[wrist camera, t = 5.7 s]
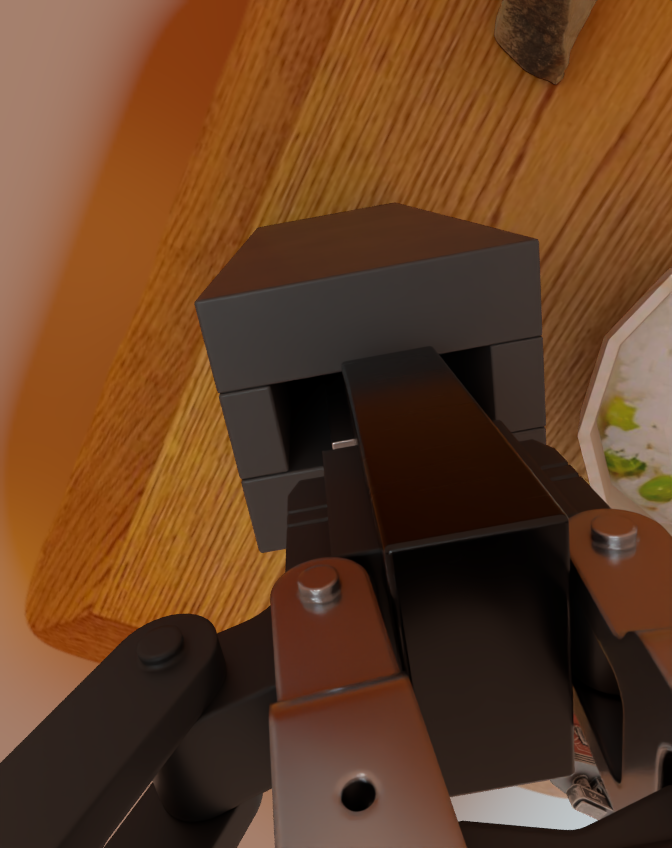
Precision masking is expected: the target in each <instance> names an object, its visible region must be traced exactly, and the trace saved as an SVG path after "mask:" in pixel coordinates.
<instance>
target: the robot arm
mask: <svg viewBox="0 0 672 848" xmlns="http://www.w3.org/2000/svg"><path fill="white" fill-rule="evenodd" d="M492 422H493V423H494V424H495V425H496V427H497V428H498V429H499V430H500V432H501V433H502V434H503V435H504V437H505V438H506V439H507V440H508V442H509V443H510V444H511V445H512V447H513V448H514V449H515V450H516V452H517V453H518V454H519V455H520V457H521V458H522V459H523V460H524V462H525V463H526V464H527V465H528V467H529V468H530V469H531V470H532V472H533V473H534V474H535V476H536V477H537V478H538V479H539V481H540V482H541V483H542V484H543V486H544V487H545V488H546V489H547V491H548V492H549V493H550V494H551V496H552V497H553V498H554V499H555V501H556V502H557V503H558V504H559V506H560V507H561V508H562V509H563V511H564V512H565V513H566V514H567V516H568V518H569V543H570V586H571V629H572V672H573V710H574V712H575V715H576V717H577V720H578V722H579V725H580V727H581V730H582V732H583V735H584V737H585V740H586V742H587V744H588V747H589V749H590V752H591V754H592V757H593V759H594V762H595V764H596V767H597V769H598V772H599V774H600V776H601V779H602V781H603V784H604V786H605V789H606V791H607V794H608V796H609V799H610V801H611V804H612V807H613V810H614V813H612V814H610V815H608V816H606V817H604V818H602V819H600V820H598V821H596V822H594V823H592V824H590V825H588V826H586V827H583V828H581V829H576V830H557V829H548V828H537V827H526V826H515V825H504V824H492V823H481V822H470V821H460V822H458V820H457V817H456V814H455V812H454V809H453V806H452V803H451V800H450V797H449V794H448V791H447V788H446V785H445V782H444V779H443V776H442V773H441V770H440V767H439V764H438V761H437V759H436V756H435V753H434V750H433V747H432V744H431V741H430V738H429V735H428V732H427V729H426V726H425V723H424V720H423V717H422V714H421V711H420V708H419V706H418V703H417V700H416V697H415V694H414V691H413V688H412V685H411V682H410V680H409V677H408V675H407V673H406V671H400V668H399V662H398V656H397V650H396V645H395V639H394V633H393V627H392V621H391V615H390V609H389V603H388V597H387V592H386V586H385V580H384V574H383V568H382V562H381V556H380V550H379V546H378V541H377V536H376V532H375V527H374V523H373V518H372V514H371V509H370V504H369V500H368V495H367V491H366V486H365V482H364V477H363V472H362V468H361V463H360V459H359V454H358V450H357V445H354V446H348V447H343V448H337V449H332V450H326V451H322V456H323V467H324V476H322V477H317V478H311V479H305V480H300V481H299V482H298V483H297V484H296V486H295V487H294V488H293V490H292V491H291V492H290V494H289V495H288V506H287V513H288V515H287V538H286V569H285V573H284V574H283V575H282V576H281V577H280V578H279V579H278V580H277V581H276V583H275V584H274V586H273V588H272V591H271V596H270V603H271V605H270V606H269V607H268V608H267V609H266V610H264V611H263V612H262V613H260V614H259V615H257V616H255V617H254V618H252V619H250V620H248V621H246V622H243V623H241V624H239V625H236V626H234V627H231V628H229V629H227V630H224V631H222V632H219V633H217V632H216V629H215V627H214V626H213V624H212V623H211V622H210V621H209V620H207V619H206V618H204V617H202V616H199V615H194V614H176V615H170V616H166V617H162V618H160V619H157V620H154V621H152V622H150V623H148V624H146V625H144V626H142V627H140V628H139V629H137V630H136V631H134V632H133V633H132V634H130V635H129V636H128V637H127V638H126V639H125V640H123V641H122V642H121V643H120V644H119V645H118V646H117V647H116V648H115V649H114V650H113V651H112V652H111V653H110V654H109V655H108V656H107V657H106V658H105V659H104V660H103V661H102V662H101V663H100V664H99V665H98V666H97V667H96V668H95V669H94V670H93V671H92V672H91V673H90V674H89V675H88V676H87V677H86V678H85V679H84V680H83V681H82V682H81V683H80V684H79V685H78V686H77V687H76V688H75V689H74V690H73V691H72V692H71V693H70V694H69V695H68V696H67V697H66V698H65V699H64V700H63V701H62V702H61V703H60V704H59V705H58V706H57V707H56V708H55V709H54V710H53V711H52V712H51V713H50V714H49V715H48V716H47V717H46V718H45V719H44V720H43V721H42V722H41V723H40V724H39V725H38V726H37V727H36V728H35V729H34V730H33V731H32V732H31V733H30V734H29V735H28V736H27V737H26V738H25V739H24V740H23V741H22V742H21V743H20V744H19V745H18V746H17V747H16V748H15V749H14V750H13V751H12V752H11V753H10V754H9V755H8V756H7V757H6V758H5V759H4V760H3V761H2V762H1V763H0V848H103V847H104V845H105V843H106V842H107V840H108V839H109V837H110V836H111V835H112V833H113V832H114V831H115V829H116V828H117V827H118V825H119V824H120V823H121V821H122V820H123V819H124V817H125V816H126V815H127V813H128V812H129V811H130V809H131V808H132V807H133V805H134V804H135V803H136V801H137V800H138V799H139V797H140V796H141V795H142V793H143V792H144V791H145V789H146V788H147V786H148V785H149V784H150V782H151V781H153V783H152V784H151V785H150V787H149V788H148V789H147V791H146V792H145V793H144V795H143V796H142V797H141V799H140V800H139V801H138V803H137V804H136V805H135V807H134V808H133V809H132V811H131V812H130V814H129V815H128V816H127V817H126V819H125V820H124V821H123V823H122V824H121V825H120V827H119V828H118V829H117V831H116V832H115V834H114V835H113V836H112V838H111V839H110V840H109V841H108V843H107V844H106V845H105V847H104V848H237V846H238V845H239V843H240V841H241V839H242V838H243V836H244V834H245V832H246V831H247V829H248V827H249V825H250V823H251V822H252V820H253V818H254V816H255V815H256V813H257V811H258V808H259V806H260V803H261V800H262V796H263V793H264V792H266V791H268V790H269V789H272V795H273V817H274V836H275V837H274V838H275V848H672V536H671V535H670V534H669V532H668V531H667V530H666V529H665V528H664V527H663V526H662V525H661V524H659V523H658V522H656V521H655V520H653V519H651V518H649V517H647V516H644V515H642V514H639V513H635V512H631V511H626V510H620V509H611V508H610V507H609V505H608V504H607V503H606V502H605V501H604V500H603V499H602V498H601V497H600V496H599V495H598V494H597V493H596V492H595V491H594V490H593V489H592V488H591V486H590V485H589V484H588V483H587V482H586V481H585V480H584V479H583V478H582V477H581V476H580V477H579V476H578V473H577V472H576V471H575V470H574V469H573V468H572V466H571V465H568V463H567V461H566V460H565V459H564V458H563V457H562V456H561V455H560V454H559V453H558V452H557V451H556V450H555V449H554V448H552V447H550V446H547V445H545V444H543V443H540V442H538V441H536V440H534V439H530V440H525V441H518V440H517V439H516V438H515V436H514V435H513V434H512V433H511V432H510V430H509V429H508V428H507V427H506V426H505V424H504V423H503V422H502V421H501V420H495V421H492Z"/></svg>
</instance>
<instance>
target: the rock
mask: <svg viewBox="0 0 672 848" xmlns="http://www.w3.org/2000/svg"><path fill="white" fill-rule="evenodd" d="M596 1H597V0H503V1H502V4H501V7H500V9H499V12H498V15H497V18H496V24H495V38H496V41H497V42H498V43H499V44H500V45H501V46H502V48H503V49H504V50H505V51H506V52H507V53H508V54H509V55H510V56H511V57H512V58H513V59H514V60H515V61H516V62H517V63H518V64H519V65H520V66H521V67H522V68H523V69H524V70H526V71H527V72H529V73H531V74H533V75H534V76H537V77H539V78H543V79H546V80H548V81H550V82H552V83H553V84H557V83H558V82H560V81H561V80H562V79H563V77H564V71H565V69H566V68H567V66H568V64H569V56H570V51H571V49H572V47H573V44H574V42H575V40H576V38H577V36H578V34H579V32H580V30H581V29H582V27H583V25H584V24H585V22H586V20H587V18H588V17H589V15H590V12H591V9H592V8H593V6H594V4H595V3H596Z"/></svg>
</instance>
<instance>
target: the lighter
mask: <svg viewBox="0 0 672 848" xmlns="http://www.w3.org/2000/svg"><path fill="white" fill-rule="evenodd" d="M573 714H574V757H575V773H574V774H573V775H572V776H570V777H564V778H558V779H553V780H550V781H551V783H552V784H553V785H555V786H556V787H557V788H559V789H560V790H561V791H563V792H564V793H565V794H567V796H568V798H569V801H570V803H571V805H572V807H573V808H574V809H575V810H577V811H579V812H581V813H584V814H586V815H589V816H590V817H593V818H595V819H597V820H600V819H602V818H604V817H606V816H608V815H610V814H612V813H614V810H613V807H612V804H611V801H610V799H609V796H608V794H607V791H606V789H605V786H604V784H603V781H602V779H601V776H600V774H599V772H598V769H597V767H596V764H595V762H594V759H593V757H592V754H591V752H590V749H589V747H588V744H587V742H586V740H585V737H584V735H583V732H582V730H581V727H580V725H579V722H578V720H577V717H576V715H575V712H574V710H573Z"/></svg>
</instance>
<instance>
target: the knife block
mask: <svg viewBox="0 0 672 848" xmlns="http://www.w3.org/2000/svg"><path fill="white" fill-rule="evenodd" d="M195 308H196V312H197V316H198V319H199V323H200V327H201V331H202V335H203V339H204V342H205V346H206V350H207V354H208V358H209V361H210V365H211V369H212V373H213V377H214V381H215V384H216V388H217V391H218V393H220V394H219V399H220V403H221V407H222V411H223V415H224V419H225V422H226V426H227V430H228V434H229V438H230V441H231V445H232V449H233V453H234V457H235V461H236V464H237V468H238V472H239V476H240V478H241V479H242V482H241V483H242V487H243V491H244V495H245V499H246V503H247V506H248V510H249V514H250V518H251V522H252V526H253V529H254V533H255V537H256V541H257V545H258V548H259V551H260V552H261V553H264V552H270V551H276V550H281V549H286V538H287V515H288V513H287V506H288V495H289V494H290V492H291V491H292V490H293V488H294V487H295V486H296V484H297V483H298V482H299V481H300V480H305V479H311V478H317V477H322V476H324V467H323V456H322V451H326V450H332V449H333V448H332V442H331V434H330V426H329V418H328V410H327V402H326V394H325V387H324V379H323V375H326V374H332V373H337V372H342V370H341V364H342V363H343V362H344V361H350V360H355V359H361V358H366V357H372V356H377V355H383V354H388V353H394V352H399V351H405V350H410V349H416V348H421V347H427V346H432V347H433V348H434V349H435V350H436V352H437V353H438V354H439V355H440V357H441V358H442V359H443V360H444V362H445V363H446V364H447V365H448V367H449V368H450V369H451V370H452V372H453V373H454V374H455V375H456V377H457V378H458V379H459V380H460V382H461V383H462V384H463V385H464V387H465V388H466V389H467V390H468V392H469V393H470V394H471V395H472V397H473V398H474V399H475V400H476V402H477V403H478V404H479V405H480V407H481V408H482V409H483V410H484V412H485V413H486V414H487V415H488V417H489V418H490V419H491V420H492V421H495V420H501V421H502V422H503V423H504V424H505V426H506V427H507V428H508V429H509V430H510V432H511V433H512V434H513V435H514V436H515V438H516V439H517V440H518V441H525V440H530V439H534V440H536V441H538V442H540V443H543V444H545V445H546V429H545V427H544V426H546V413H545V386H544V358H543V338H542V336H541V335H542V312H541V285H540V258H539V241H538V239H535V238H531V237H527V236H523V235H519V234H515V233H511V232H507V231H504V230H500V229H496V228H492V227H488V226H484V225H480V224H476V223H472V222H468V221H465V220H461V219H457V218H453V217H449V216H445V215H441V214H437V213H433V212H430V211H426V210H422V209H418V208H414V207H410V206H406V205H402V204H398V203H390V204H384V205H379V206H373V207H368V208H363V209H357V210H352V211H346V212H341V213H335V214H330V215H324V216H319V217H313V218H308V219H302V220H297V221H291V222H286V223H281V224H275V225H270V226H264V227H259V228H257V229H256V230H255V231H254V233H253V234H252V235H251V236H250V237H249V239H248V240H247V241H246V242H245V243H244V244H243V246H242V247H241V248H240V249H239V250H238V251H237V253H236V254H235V255H234V256H233V257H232V259H231V260H230V261H229V262H228V263H227V264H226V266H225V267H224V268H223V269H222V270H221V271H220V273H219V274H218V275H217V276H216V277H215V279H214V280H213V281H212V282H211V283H210V284H209V286H208V287H207V288H206V289H205V290H204V292H203V293H202V294H201V295H200V296H199V297H198V299H197V300H196V301H195Z"/></svg>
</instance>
